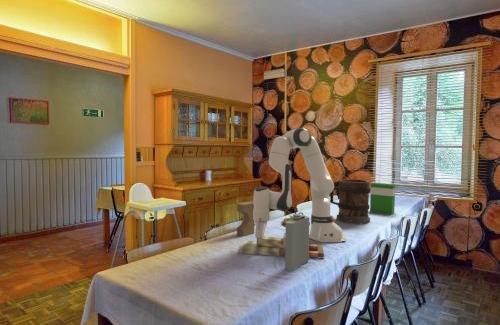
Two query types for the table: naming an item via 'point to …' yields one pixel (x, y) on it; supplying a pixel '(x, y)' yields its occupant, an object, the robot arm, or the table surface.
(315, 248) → the track deck
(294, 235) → the flask
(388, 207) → the hardback book
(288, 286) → the table surface
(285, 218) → the plant
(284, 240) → the tunnel
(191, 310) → the table surface
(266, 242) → the birch bar
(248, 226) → the decorative block
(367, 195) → the wooden tankard
